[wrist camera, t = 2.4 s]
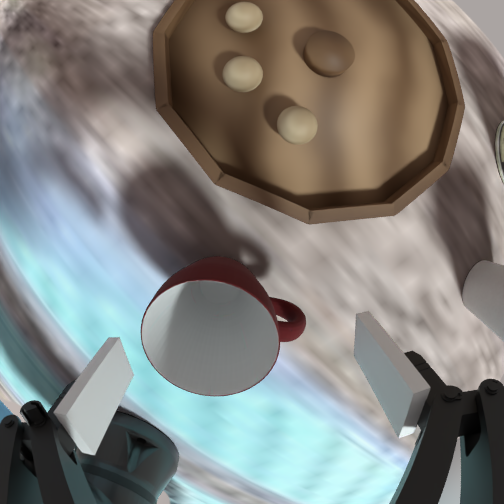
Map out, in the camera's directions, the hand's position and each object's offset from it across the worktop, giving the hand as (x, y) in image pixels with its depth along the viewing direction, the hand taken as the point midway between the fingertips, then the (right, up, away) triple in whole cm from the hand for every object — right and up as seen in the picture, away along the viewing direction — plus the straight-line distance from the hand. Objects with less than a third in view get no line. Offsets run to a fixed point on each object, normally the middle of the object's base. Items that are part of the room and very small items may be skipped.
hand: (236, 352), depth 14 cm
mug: (-1, +2, +11) cm, 11 cm away
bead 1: (0, +24, +4) cm, 25 cm away
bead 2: (0, +19, +5) cm, 20 cm away
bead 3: (+4, +15, +6) cm, 17 cm away
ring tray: (+7, +22, +6) cm, 24 cm away
